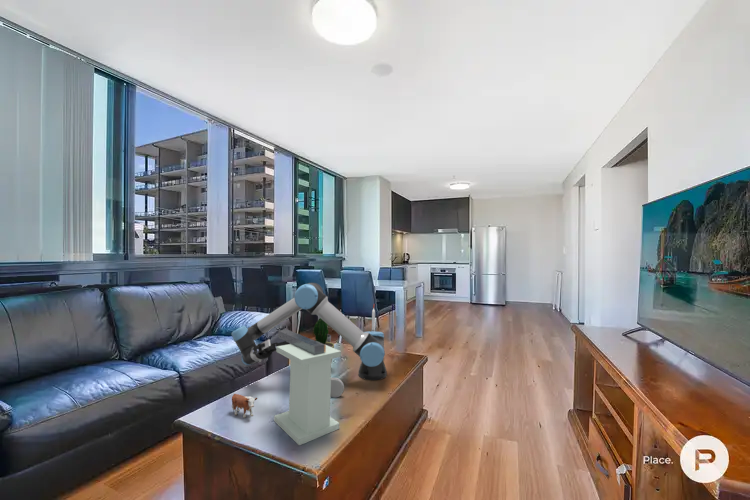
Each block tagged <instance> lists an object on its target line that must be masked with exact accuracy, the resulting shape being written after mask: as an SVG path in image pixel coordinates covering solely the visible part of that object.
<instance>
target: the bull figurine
mask: <svg viewBox="0 0 750 500" xmlns="http://www.w3.org/2000/svg"><path fill="white" fill-rule="evenodd" d="M257 400H258V397H253V396H247V395H246V396H245V395H242V394H238V393H234V394H232V397H231V409H232V411H234V416H238V415H239V414H238V412H240V410H243V415H242V417H243V418H244V419H246V417H247V416H246V413H247V412H249V416H250V417H253V416H254V414H253V409H252V408H254V407H255V401H257Z"/></svg>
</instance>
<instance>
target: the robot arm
mask: <svg viewBox="0 0 750 500" xmlns="http://www.w3.org/2000/svg"><path fill="white" fill-rule="evenodd" d="M293 296H294V297H293V298H292V299H289V300H288V301H287V302H285V303H284V304H282V305H281V306H279V307H277V308H276V309H274V310H273V311H272V312H270V313H269V314H267V315H266V316H264V317H262V318H261V319H260V320H259V321H257V322H255V323H254V324H252V325H250V326H249V327H247V326H246V325H242V326H240V327H238V328H237V329H234V330H233V331H232V332H231V337H232V338H233V339H232V340H233V341H234V342H235V344H236V346H237V348H238V350H239V352H240V353H241V359H240V360H241V362H242V363H243V365H244V366H252V365H255V364H257V363H261V362H262V361H264V360H265V359H268V358H270V356H272V355H273V352H276V347H277V346H282V345H288V344H290V343H288V342H286V341H284V340H283V341H281V342H273V343H271V339H267V340H265V341H263V342H261V343H257V344H256V342H255V341H256V340H258V339H259V338H261V337H262V336H264V335H265V334H267V333H268V332H269V331H271V330H272V329H274V328H275V327H277V326H279V325H280V324H282V323H284V322H285V321H286V320H288V319H289V318H291V317H292V316H293V315H295V314H297V313H298V312H300V311H301V310H306V311H307V312H308V313H309V314H310V315H316V316H317V317H318V318H319V319H320V318H321V319H322V320H323V321H324V322H325V323H327V324H328V325H329V326H328V327H330V328H331V329H332V330H333V331H334V332H336V333H337V334H338V336H340V337H341V338H343V339H344V340H345V341H346V342H347V343H348V344H350V346H351V347H352V351H353V353H355V354H356V355H357V356H358V357H359V359H360V361H361V362H360V365H359V367H358V377H359V378H361V379H364V380H367V381H379V380H383V379H385V378H387V368H386V365H385V362H384V361H385V360H384V359H385V358H384V357H385V355H386V354H385V352H386V351H385V333H384V332H382V331H376V330H375V331H372V330H371V331H370V330H369V331H363V330H361V328H359V327H358V326H357V325H356V324H355V323H354V322H352V321H351V319H349V318H348V317H347V316H345V314H343V313H342V312H341V311H340V310H339V309H338V308H337V307H335V306H334V305H333V304H332V303H331V302H329V300H328V298H329V297H328V295H326V294H325V293H324V290H323V288H322V286H321V285H320V284H319V283H317V282H308V283H305V284H302V285H300V286H299V287H298V288H297V289H296V291H295V293H294V295H293Z"/></svg>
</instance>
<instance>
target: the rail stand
mask: <svg viewBox="0 0 750 500" xmlns="http://www.w3.org/2000/svg"><path fill="white" fill-rule="evenodd" d="M319 343H320V342H319ZM324 345H325V344H324ZM275 352H276V353H277V354H280V355H281V356H284V357H285V358H287V359H289V361H290V363H289V364H290V366H289V367H290V369H289V370H290V371H289V372H290V373H289V399H288V400H289V401H288V404H289V405H288V410H287V411H284V412H280V413H278V414H275V415H274V416H273V418H274V419H273V420H274V422H275V424H277V425H278V426H279V427H280V428H281V430H282V431H284V432H285V433H286V434H287V435H288V436H289V437H290V438H291V439H292V440H293V441H294V442H295V444H297V445H298V446H301V445H305V444H306V443H309V442H311V441H313V440H316V439H319V438H320V437H323V436H325V435H327V434H330V433H332V432H334V431H337V430H339V429H340V422H339V421H337V420H336V419H335V418H333V417H332V416H331V396H330V395H331V378H332V363H331V359H332V360H333V359H337V358H342V357H341V356H342V351H341V350H340V349H337V348H335V347H334V348H332V347H329V346H327V345H326V352H324V353H321V354H317V355H313V354H311V353H309V352H307V351H305V350H303V349H301V348H299V347H296V346H294V345H292V344H288V345H282V346H277V347H276V351H275Z"/></svg>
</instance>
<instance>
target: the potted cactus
mask: <svg viewBox="0 0 750 500" xmlns="http://www.w3.org/2000/svg"><path fill="white" fill-rule="evenodd" d="M329 327H330V326H329V325H328V324H327V323H325V322H324V321H323V320H322V319H321V318H320V317H319V318H318V319H317V321H316V322H315V323H314V325H313V336H315V337H314V340H315V341H317V342H320V343H322V344H325V345H327V346H329V347H332V348H334V349H335V343H333V342H331V341H330V342H326V341H327V340H328V339H327V336H328V335H327V334H329V333H330V331H329ZM332 361H333V359H331V364H333V363H332Z"/></svg>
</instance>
